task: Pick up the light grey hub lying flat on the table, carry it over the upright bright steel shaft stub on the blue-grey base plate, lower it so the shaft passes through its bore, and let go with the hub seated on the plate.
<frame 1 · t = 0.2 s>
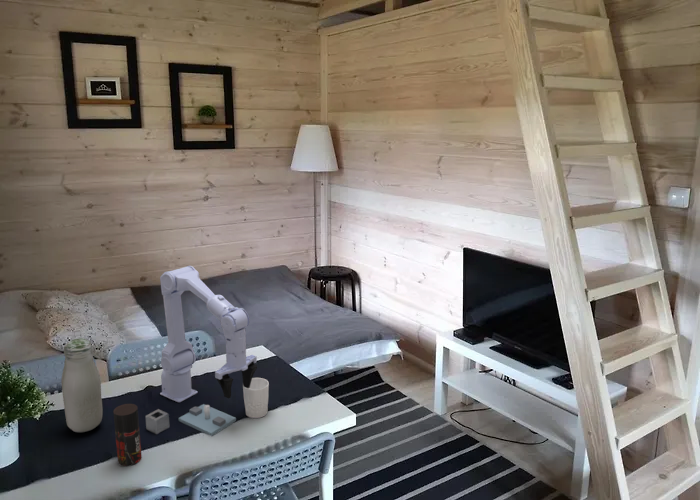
hand: (237, 391, 165), 10 cm above the table, tool pointing down, fingers open, 7 cm apart
deodorant: (129, 459, 149), on the table
hub: (158, 428, 163), on the table
shaft base: (207, 420, 167), on the table
glass bottle: (86, 429, 162), on the table
white cup: (256, 413, 173), on the table
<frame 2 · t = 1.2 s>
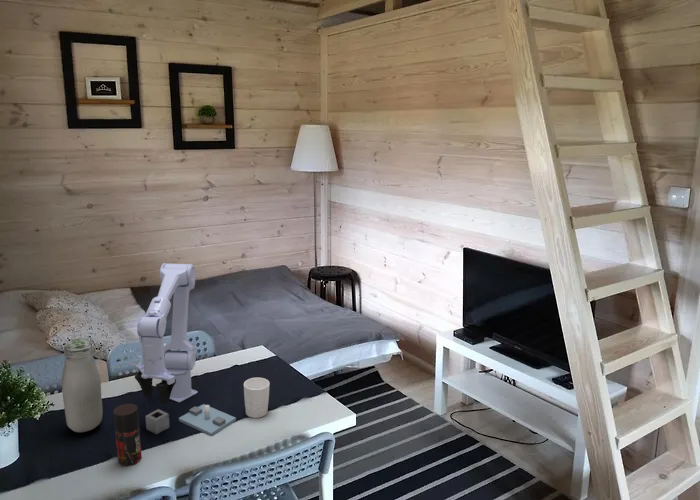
hand: (156, 399, 161), 9 cm above the table, tool pointing down, fingers open, 7 cm apart
nothing on the table moved.
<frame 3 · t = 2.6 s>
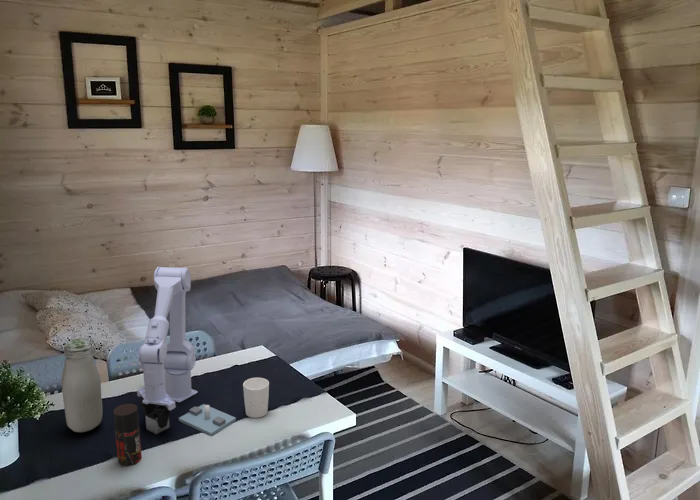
hand: (157, 423, 163), 1 cm above the table, tool pointing down, fingers closed on hub, 5 cm apart
hub: (158, 428, 163), on the table, touching gripper
everything else where it was.
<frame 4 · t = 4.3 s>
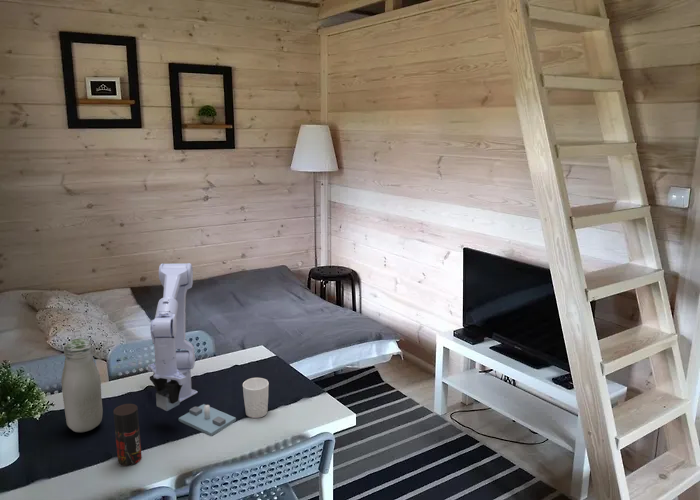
hand: (168, 399, 162), 9 cm above the table, tool pointing down, fingers closed on hub, 5 cm apart
hub: (168, 405, 162), point 7 cm above the table, touching gripper
everything else where it was.
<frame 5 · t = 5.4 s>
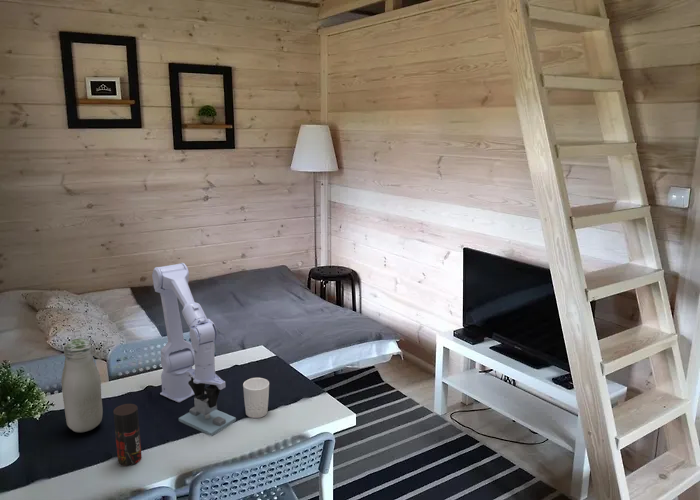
hand: (206, 403, 166), 6 cm above the table, tool pointing down, fingers closed on hub, 5 cm apart
hub: (205, 409, 166), point 4 cm above the table, touching gripper
everything else where it was.
when the fingers open (3 cm above the table, at t = 6.3 s): hub stays where it is, resting on shaft base.
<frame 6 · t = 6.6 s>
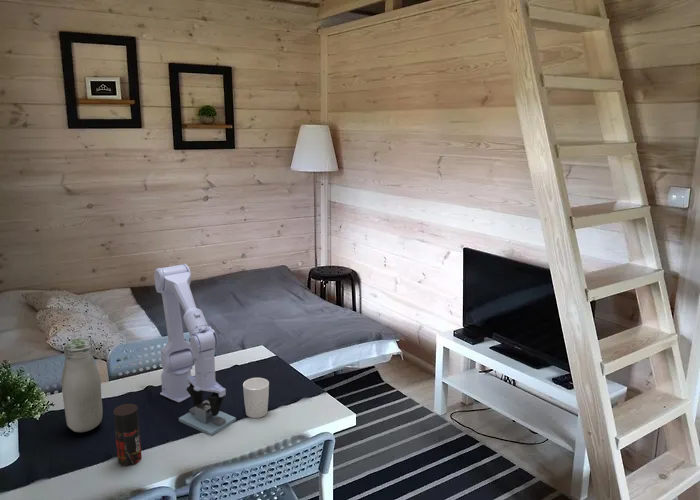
hand: (207, 410, 167), 3 cm above the table, tool pointing down, fingers open, 7 cm apart
hub: (206, 418, 167), point 1 cm above the table, touching shaft base
everything else where it was.
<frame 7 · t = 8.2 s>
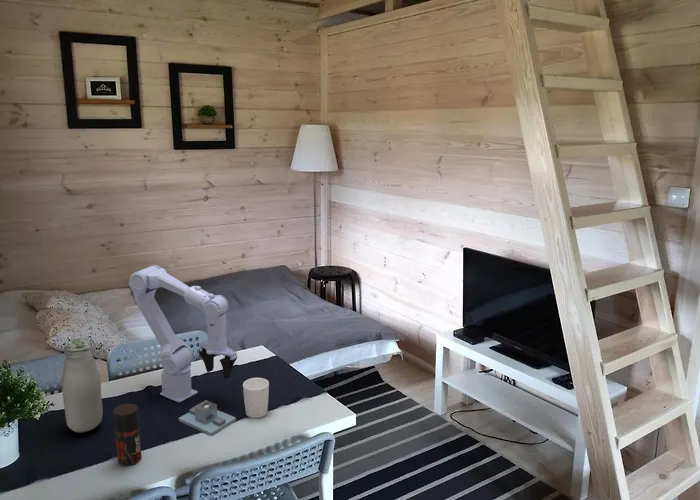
hand: (218, 374, 176), 10 cm above the table, tool pointing down, fingers open, 7 cm apart
nothing on the table moved.
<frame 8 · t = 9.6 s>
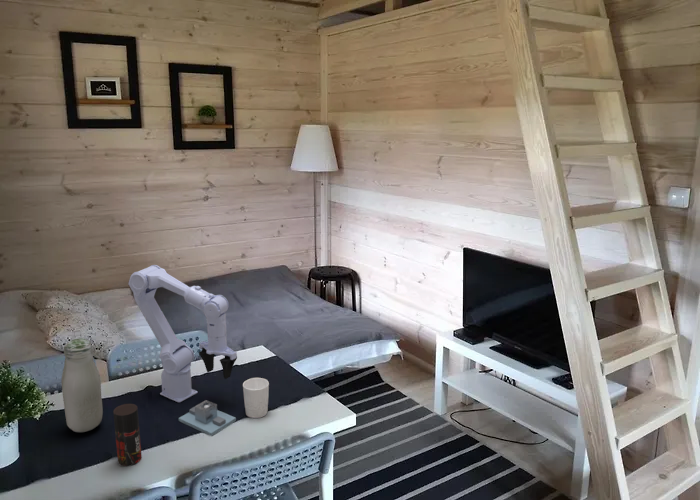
hand: (218, 374, 176), 10 cm above the table, tool pointing down, fingers open, 7 cm apart
nothing on the table moved.
at the end: hub 0.3 cm off-centre on the shaft base, point 1.0 cm above the shaft base's base; hub tilted 0°; the gripper is holding nothing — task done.
